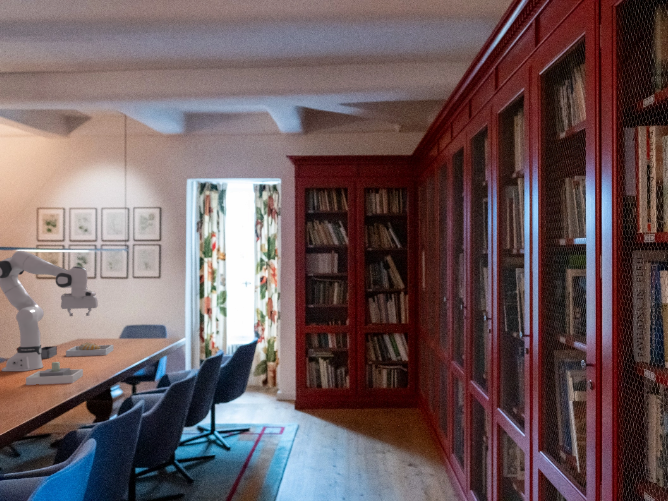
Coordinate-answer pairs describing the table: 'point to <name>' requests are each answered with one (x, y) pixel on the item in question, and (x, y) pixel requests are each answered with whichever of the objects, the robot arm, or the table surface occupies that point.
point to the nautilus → (89, 346)
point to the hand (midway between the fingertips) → (79, 316)
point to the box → (54, 376)
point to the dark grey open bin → (48, 352)
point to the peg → (55, 366)
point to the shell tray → (89, 351)
